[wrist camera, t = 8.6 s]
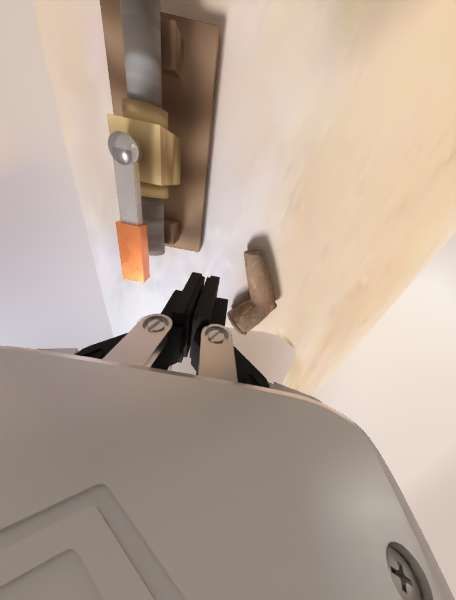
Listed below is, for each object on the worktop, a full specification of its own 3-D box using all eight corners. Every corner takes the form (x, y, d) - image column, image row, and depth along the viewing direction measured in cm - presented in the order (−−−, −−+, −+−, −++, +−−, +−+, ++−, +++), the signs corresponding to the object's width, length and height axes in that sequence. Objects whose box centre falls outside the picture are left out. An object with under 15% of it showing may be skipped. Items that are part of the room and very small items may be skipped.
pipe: (271, 250, 28) (208, 269, 29) (285, 330, 36) (236, 344, 37) (260, 240, 33) (208, 257, 34) (274, 312, 42) (232, 324, 42)
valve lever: (143, 138, 17) (133, 134, 16) (149, 276, 25) (143, 282, 24) (114, 131, 17) (102, 126, 16) (130, 273, 25) (123, 279, 24)
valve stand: (108, 8, 20) (0, -131, 11) (219, 35, 20) (203, -77, 11) (133, 236, 33) (93, 257, 24) (200, 249, 33) (185, 274, 24)
